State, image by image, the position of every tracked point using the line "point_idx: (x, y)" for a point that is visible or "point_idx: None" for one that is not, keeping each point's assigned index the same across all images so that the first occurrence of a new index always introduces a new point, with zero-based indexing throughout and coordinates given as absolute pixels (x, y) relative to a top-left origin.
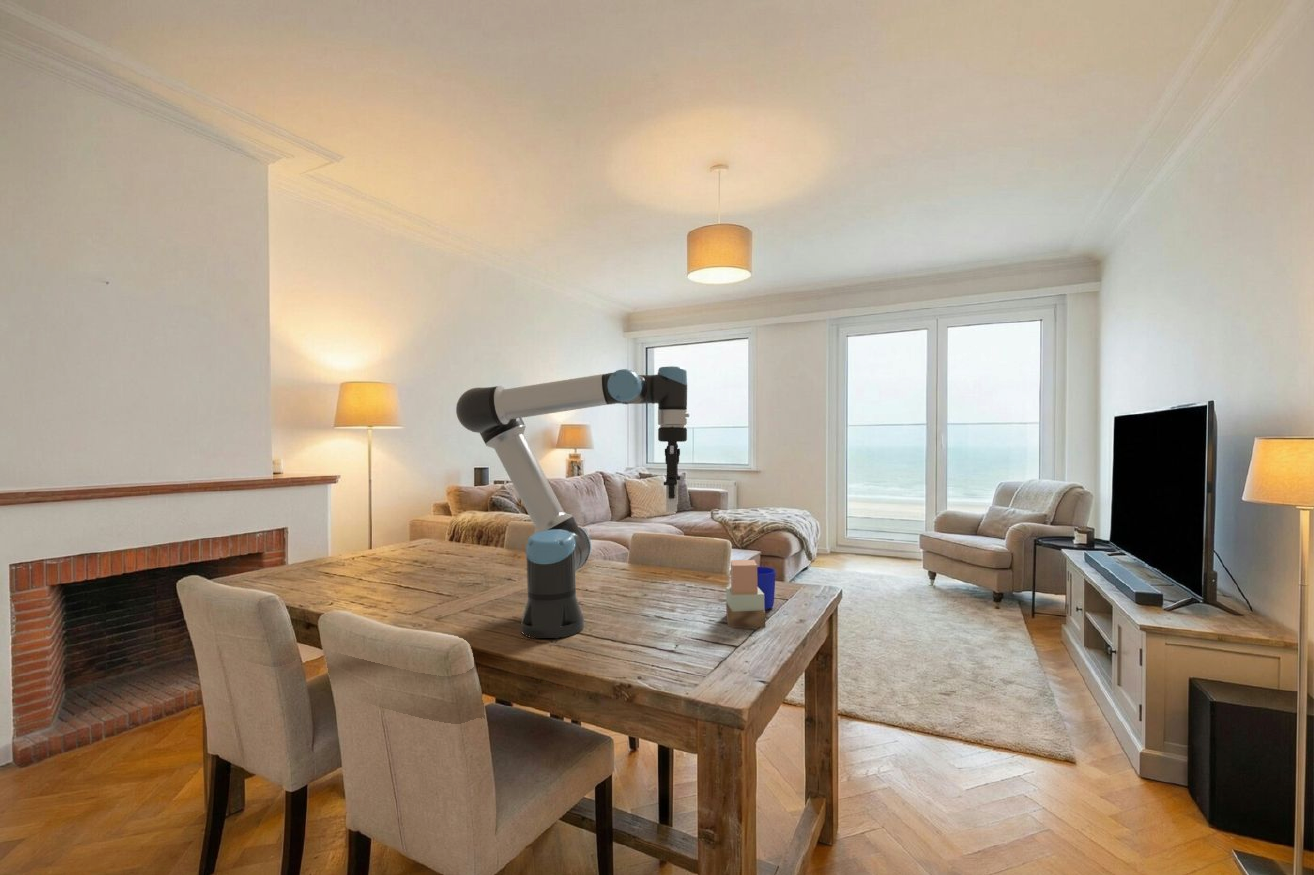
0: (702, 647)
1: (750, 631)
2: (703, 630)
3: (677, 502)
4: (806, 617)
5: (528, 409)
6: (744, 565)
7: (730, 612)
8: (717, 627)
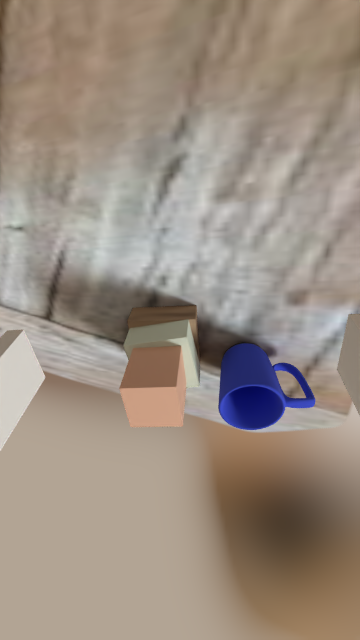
0: (26, 271)
1: (117, 338)
2: (105, 269)
3: (343, 376)
4: (192, 407)
5: None
6: (125, 408)
7: (128, 324)
8: (126, 291)
